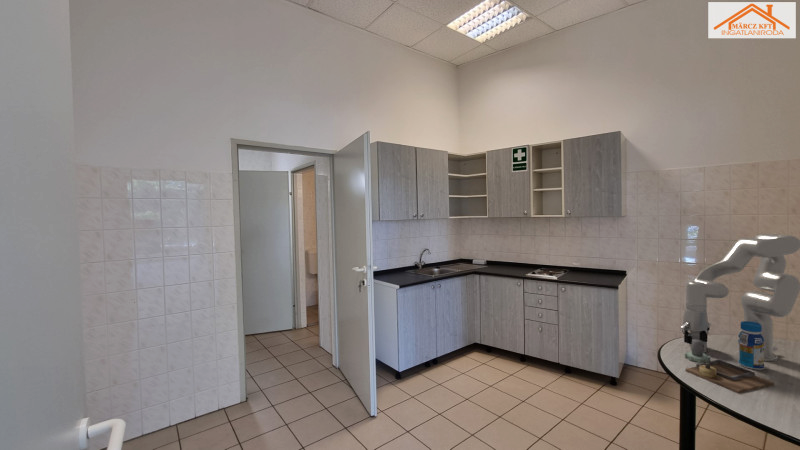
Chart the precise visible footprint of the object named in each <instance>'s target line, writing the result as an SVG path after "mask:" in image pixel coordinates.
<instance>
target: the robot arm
mask: <svg viewBox="0 0 800 450" xmlns="http://www.w3.org/2000/svg"><path fill="white" fill-rule="evenodd" d="M799 250H800V239H799V238H798V237H796V236H794V235H791V234H790V235H789V234H775V233H761V234H756V235H754V237H753V238H751V237H743V238H738V239H737V240H736V241H735V242H734V244H733V245H732V246H731V247H730V248H729V250H727V253H726V254H725V255H724V256H723V257H722V259H721V260H719V261H718V262H715V263H713V264H711V265H709V266H708V267H706V268H704V269H702V270H701V271H700V272H699V273H698V275H696V277H695V279H694V280H693V281H690V280H689V281H688V282H686V288H685V289H686V290H685V293H686V294H685V295H686V296H685V297H686V299H685V309H684V314H683V320H682V325H681V326H680V329H681V331H682V335H684V336H683V341H684V343H686V344H688V345H690V344H692V336H691V334H692V333H693V332H697V331H701V332H700V333H699V339H700V340H701V341H704V342H707V343H708V334H709V331H710V328H711V325H712V324H711V323H710V322H709V320H708V319H709V318H708V312H707V308H708V307H707V303H708V302H707V301H708V298H710V299H723V298H726V297H727V296H728V295H729V294H730V293H729V292H730V290H729V288H728V286H726V284H724V283H722V282H717V281H715V280H716V279H718V278H720V277H722V276H726V275H732V274H736V273H740V272H742V271H743V270H744V269H745V268H746V266H747V265H748V264H749V262H750V261H751V260H752V259H753V258H754V257H757V258H760V261H759V265H758V268H757V270H756V273H755V274H754V278H753V282H752V284H753V285H754V287H756V288H758V289H759V290H762V291H766V292H770V293H771V292H772V293H773V294H770V293H766V292H762V291H757V290H749V291H746V292H744V293H743V294H742V295H741V299H740V301H741V305H742V310H743V316H744V320H743V321H749V322H755V323H759V324H761V326H762V331H761V332H760V334H761V335H762V336H763V338H764V342H763V343H764V345H765V348H764V362H776V361H778V359H779V358H778V356H777V355H776V354H775V353H774V352H776V351H778V350H779V349H778V347H777V346H774V335H773V334H774V331H773V330H774V325H773V324H774V323H773V319H772V317H777V318H784V317H787V316H788V315H789V314H791V312H792V310H793V309H794V306H795V304H796V302H797V298H798V296H799V293H800V280H799V279H798V278H797V277H796V276H794V275H792V274H789V273H785V271H786V268H787V260H786V257H785V256H787V255H791V254H794V253H797V252H798V251H799ZM771 316H772V317H771ZM689 331H690V332H689Z"/></svg>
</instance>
